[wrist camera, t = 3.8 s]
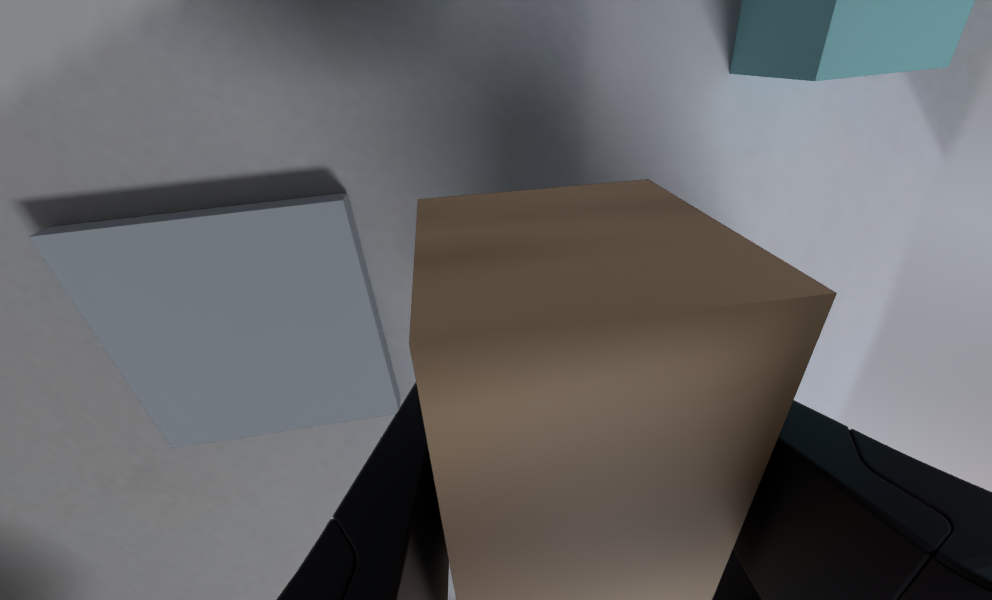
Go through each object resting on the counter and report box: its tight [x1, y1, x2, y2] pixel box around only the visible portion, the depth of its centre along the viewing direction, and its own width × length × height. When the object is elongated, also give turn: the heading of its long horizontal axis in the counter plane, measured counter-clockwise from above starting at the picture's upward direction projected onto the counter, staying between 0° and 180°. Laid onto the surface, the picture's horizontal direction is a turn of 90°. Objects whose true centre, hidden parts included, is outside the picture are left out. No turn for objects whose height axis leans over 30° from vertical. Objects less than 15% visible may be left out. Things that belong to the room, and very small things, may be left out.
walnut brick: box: [409, 179, 837, 600], centre depth 8 cm, size 7×4×4 cm, turn 3°
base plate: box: [29, 193, 401, 448], centre depth 19 cm, size 11×11×1 cm
